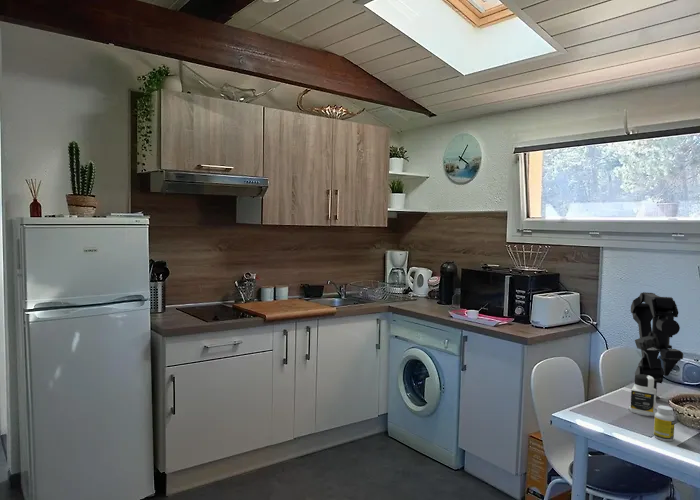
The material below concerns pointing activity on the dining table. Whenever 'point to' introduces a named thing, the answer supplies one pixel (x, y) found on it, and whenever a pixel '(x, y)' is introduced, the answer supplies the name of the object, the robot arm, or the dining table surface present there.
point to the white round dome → (642, 412)
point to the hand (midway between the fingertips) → (658, 372)
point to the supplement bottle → (664, 424)
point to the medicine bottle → (643, 393)
